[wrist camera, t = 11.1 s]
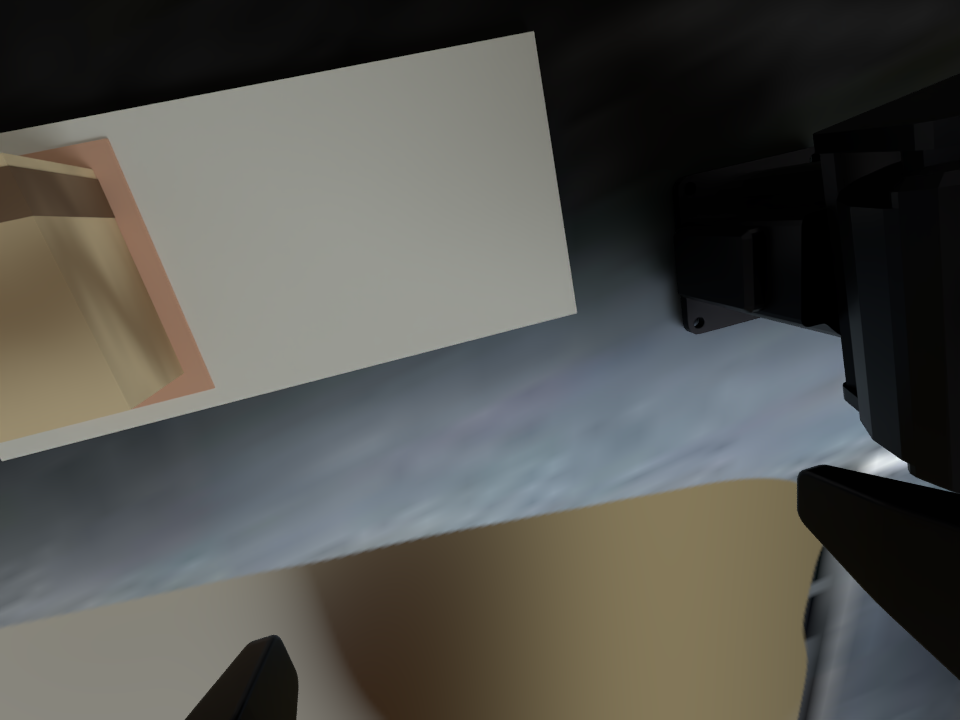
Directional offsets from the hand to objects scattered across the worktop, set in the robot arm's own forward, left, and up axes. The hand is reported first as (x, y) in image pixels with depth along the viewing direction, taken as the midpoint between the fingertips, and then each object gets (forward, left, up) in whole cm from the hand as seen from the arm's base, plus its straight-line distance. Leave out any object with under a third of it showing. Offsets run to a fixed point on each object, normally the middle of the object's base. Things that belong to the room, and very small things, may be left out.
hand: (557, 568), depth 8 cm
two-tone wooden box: (+12, -6, -11) cm, 18 cm away
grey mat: (+6, -6, -12) cm, 15 cm away
